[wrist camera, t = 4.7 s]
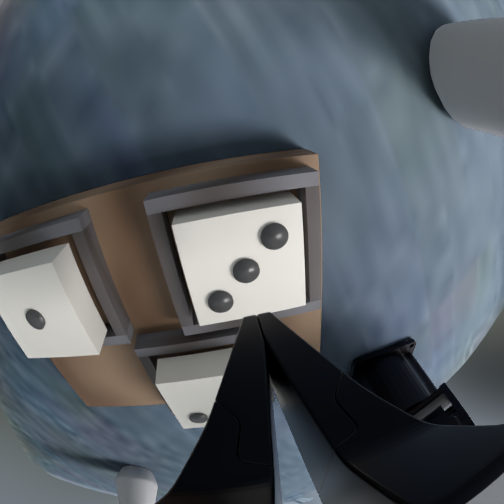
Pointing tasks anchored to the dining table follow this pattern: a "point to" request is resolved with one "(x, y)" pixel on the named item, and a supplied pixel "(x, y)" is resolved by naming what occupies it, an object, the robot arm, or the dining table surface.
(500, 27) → the can
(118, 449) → the dining table surface
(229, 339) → the board
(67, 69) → the dining table surface
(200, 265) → the tile three
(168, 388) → the tile two
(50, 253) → the tile one
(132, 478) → the salt shaker
